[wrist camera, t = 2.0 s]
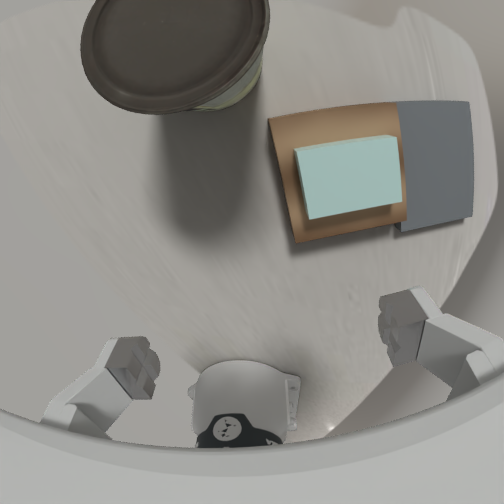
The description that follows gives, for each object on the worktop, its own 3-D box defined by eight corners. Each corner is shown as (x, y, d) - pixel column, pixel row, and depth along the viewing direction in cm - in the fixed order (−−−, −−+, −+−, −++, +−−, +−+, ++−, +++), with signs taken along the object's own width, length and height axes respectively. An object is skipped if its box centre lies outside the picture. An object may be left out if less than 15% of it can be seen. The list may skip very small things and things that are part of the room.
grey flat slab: (465, 212, 29) (472, 216, 27) (395, 226, 30) (401, 232, 29) (461, 101, 22) (469, 101, 21) (383, 102, 24) (389, 102, 22)
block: (393, 195, 25) (402, 201, 24) (305, 211, 26) (309, 219, 25) (387, 134, 23) (396, 137, 21) (293, 148, 24) (296, 151, 22)
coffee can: (168, 123, 25) (95, 139, 13) (150, 33, 21) (74, -9, 8) (272, 101, 24) (288, 90, 12) (253, 8, 20) (249, -67, 7)
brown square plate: (395, 210, 29) (406, 220, 26) (292, 231, 31) (295, 243, 28) (383, 102, 24) (396, 102, 21) (267, 118, 25) (268, 119, 23)
